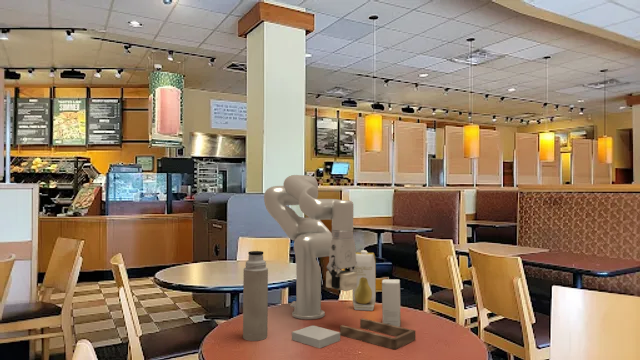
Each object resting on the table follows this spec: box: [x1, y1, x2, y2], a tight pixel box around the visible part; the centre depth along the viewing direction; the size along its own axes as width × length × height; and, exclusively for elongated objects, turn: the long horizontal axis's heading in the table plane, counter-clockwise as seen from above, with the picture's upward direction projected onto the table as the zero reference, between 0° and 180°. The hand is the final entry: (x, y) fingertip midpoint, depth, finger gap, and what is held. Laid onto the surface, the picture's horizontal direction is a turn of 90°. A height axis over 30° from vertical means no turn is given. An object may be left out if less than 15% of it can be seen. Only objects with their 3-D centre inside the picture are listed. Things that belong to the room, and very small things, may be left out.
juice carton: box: [352, 249, 377, 312], centre depth 183 cm, size 9×8×24 cm
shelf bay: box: [339, 318, 416, 350], centre depth 145 cm, size 21×12×3 cm, turn 48°
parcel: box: [325, 269, 357, 292], centre depth 156 cm, size 9×6×6 cm
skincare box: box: [381, 278, 401, 327], centre depth 161 cm, size 8×7×16 cm
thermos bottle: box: [242, 250, 269, 342], centre depth 146 cm, size 8×8×28 cm
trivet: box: [291, 325, 341, 349], centre depth 142 cm, size 12×10×2 cm
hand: (341, 285), depth 156 cm, fingers closed on parcel, 6 cm apart
